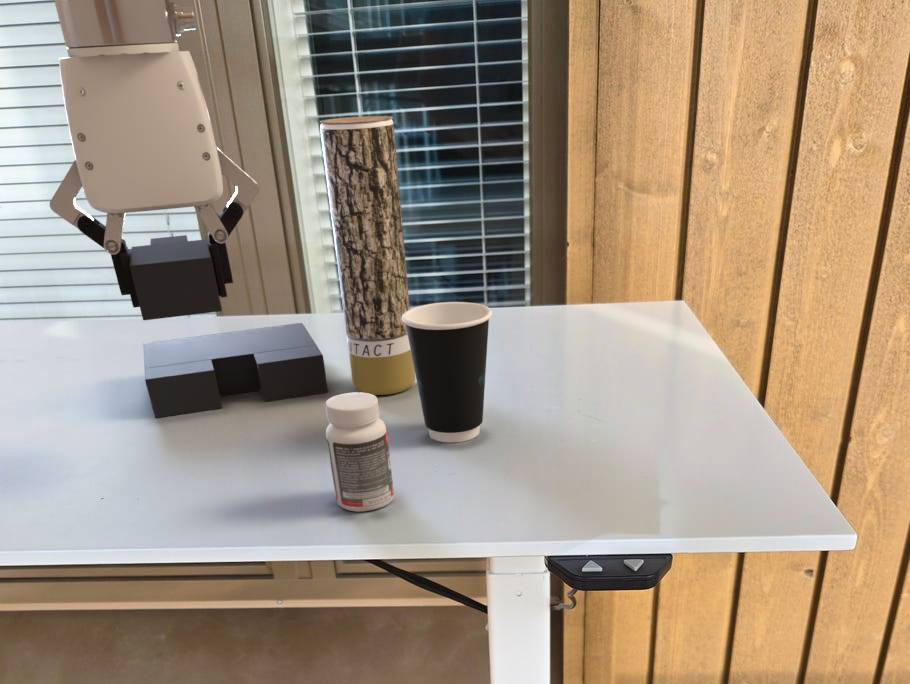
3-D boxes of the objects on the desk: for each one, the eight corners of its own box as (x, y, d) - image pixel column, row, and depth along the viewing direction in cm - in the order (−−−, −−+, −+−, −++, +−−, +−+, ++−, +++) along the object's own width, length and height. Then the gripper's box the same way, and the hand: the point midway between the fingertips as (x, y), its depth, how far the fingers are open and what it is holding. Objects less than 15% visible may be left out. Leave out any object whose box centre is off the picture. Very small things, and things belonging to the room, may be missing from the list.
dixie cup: (513, 433, 83) (510, 312, 77) (443, 456, 79) (434, 331, 73) (464, 411, 88) (458, 296, 82) (396, 432, 85) (384, 313, 78)
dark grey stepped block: (143, 320, 68) (129, 265, 66) (144, 289, 77) (131, 240, 75) (222, 311, 70) (211, 257, 67) (214, 282, 78) (204, 233, 76)
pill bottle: (405, 500, 72) (395, 400, 67) (356, 518, 70) (342, 416, 65) (373, 482, 75) (361, 385, 70) (325, 500, 73) (309, 400, 68)
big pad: (155, 418, 91) (145, 379, 88) (152, 378, 102) (143, 343, 100) (328, 392, 95) (322, 354, 93) (307, 356, 106) (302, 322, 104)
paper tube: (374, 373, 99) (345, 116, 85) (427, 380, 97) (406, 115, 83) (341, 393, 94) (304, 123, 80) (395, 400, 92) (367, 122, 78)
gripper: (240, 25, 67) (281, 277, 77) (-6, 37, 63) (72, 300, 73) (249, 22, 61) (292, 296, 71) (-23, 36, 57) (64, 323, 67)
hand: (180, 296), depth 72 cm, fingers closed on dark grey stepped block, 6 cm apart
